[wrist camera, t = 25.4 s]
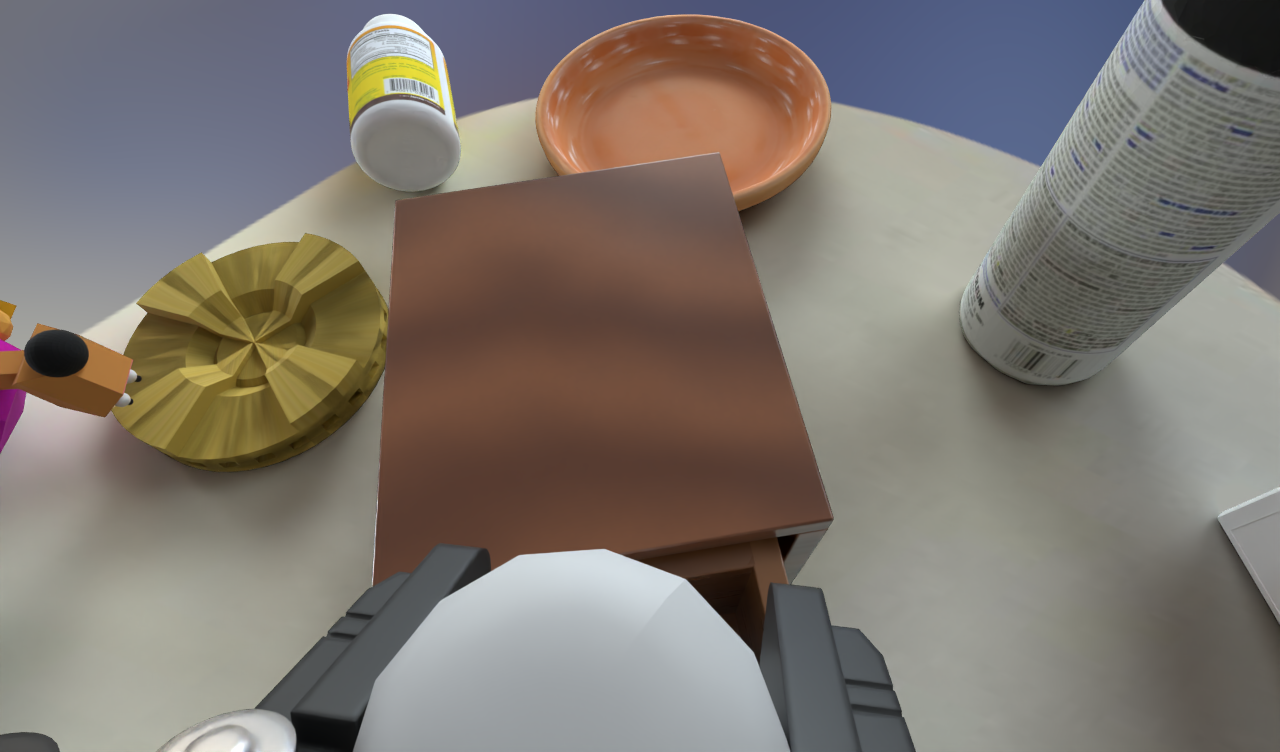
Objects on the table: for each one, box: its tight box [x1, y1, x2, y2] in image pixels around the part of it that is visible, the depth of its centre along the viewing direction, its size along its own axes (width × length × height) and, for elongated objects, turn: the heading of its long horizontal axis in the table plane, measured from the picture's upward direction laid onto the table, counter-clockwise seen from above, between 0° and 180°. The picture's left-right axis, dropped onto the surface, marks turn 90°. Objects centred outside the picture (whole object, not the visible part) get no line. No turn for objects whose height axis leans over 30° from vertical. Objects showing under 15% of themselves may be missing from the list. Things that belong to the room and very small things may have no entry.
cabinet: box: [372, 152, 834, 587], centre depth 23 cm, size 14×12×10 cm
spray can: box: [959, 0, 1280, 385], centre depth 21 cm, size 7×7×20 cm
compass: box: [111, 233, 388, 472], centre depth 30 cm, size 12×12×2 cm
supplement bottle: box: [347, 14, 461, 192], centre depth 36 cm, size 6×6×10 cm
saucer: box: [536, 15, 831, 211], centre depth 36 cm, size 16×16×3 cm
